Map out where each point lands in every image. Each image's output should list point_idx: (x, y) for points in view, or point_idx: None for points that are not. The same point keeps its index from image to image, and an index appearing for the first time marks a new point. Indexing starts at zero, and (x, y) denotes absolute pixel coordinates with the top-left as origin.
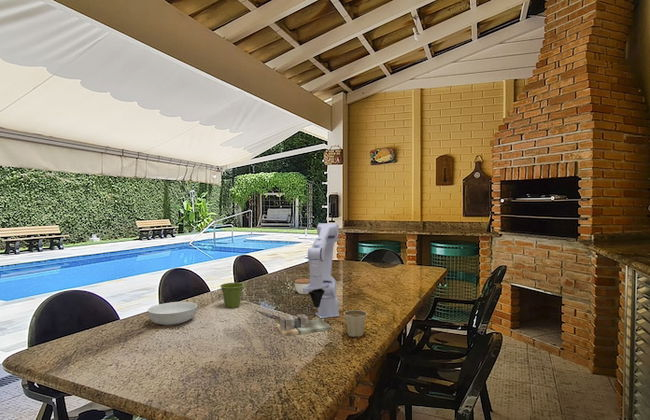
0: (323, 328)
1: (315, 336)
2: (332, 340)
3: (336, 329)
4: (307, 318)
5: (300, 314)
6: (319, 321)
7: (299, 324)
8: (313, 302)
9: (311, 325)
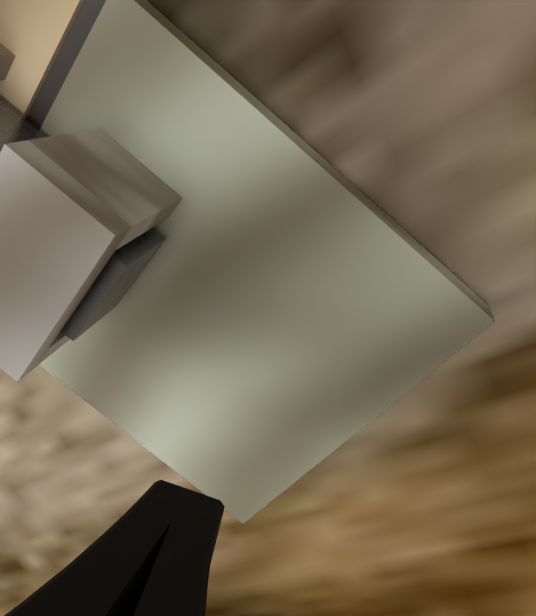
0: (175, 465)
1: (29, 435)
2: (49, 566)
3: (289, 536)
4: (19, 367)
5: (50, 188)
6: (365, 345)
7: None
8: (93, 558)
9: (169, 323)
